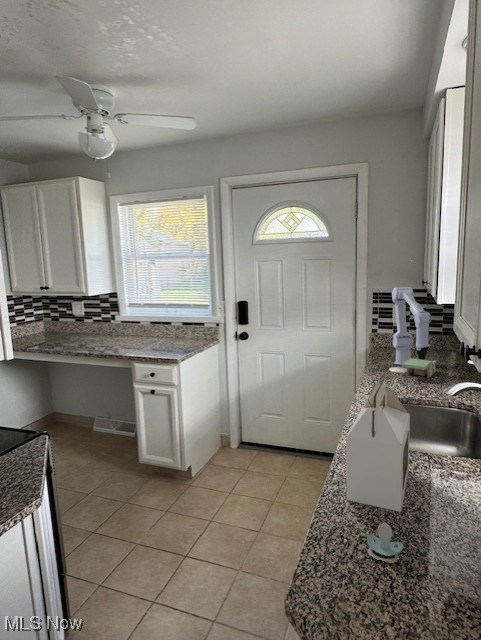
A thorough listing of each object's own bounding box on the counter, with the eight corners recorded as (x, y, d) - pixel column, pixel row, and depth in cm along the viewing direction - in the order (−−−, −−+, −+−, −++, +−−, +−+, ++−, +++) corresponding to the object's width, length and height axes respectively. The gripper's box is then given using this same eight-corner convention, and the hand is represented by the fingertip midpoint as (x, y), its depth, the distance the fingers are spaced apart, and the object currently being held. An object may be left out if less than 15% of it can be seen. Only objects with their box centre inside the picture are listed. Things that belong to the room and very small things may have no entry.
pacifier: (400, 570, 82) (404, 550, 87) (401, 542, 81) (404, 523, 86) (363, 559, 85) (368, 540, 91) (363, 532, 84) (368, 515, 89)
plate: (392, 367, 230) (392, 366, 229) (411, 369, 223) (411, 368, 223) (386, 371, 222) (386, 370, 222) (405, 374, 216) (405, 372, 215)
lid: (410, 361, 218) (410, 358, 218) (432, 363, 211) (432, 360, 211) (401, 366, 207) (402, 364, 207) (425, 369, 200) (425, 366, 200)
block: (416, 372, 218) (417, 363, 217) (426, 373, 215) (427, 364, 214) (414, 374, 214) (414, 365, 214) (424, 375, 211) (424, 366, 210)
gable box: (362, 462, 125) (362, 373, 121) (408, 470, 119) (410, 377, 115) (346, 500, 106) (345, 396, 102) (400, 513, 100) (402, 402, 96)
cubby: (414, 369, 224) (414, 358, 223) (435, 371, 217) (436, 360, 217) (406, 374, 214) (406, 363, 213) (429, 377, 207) (429, 366, 206)
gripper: (426, 338, 205) (426, 365, 207) (434, 334, 216) (433, 359, 218) (412, 337, 209) (411, 363, 211) (420, 333, 221) (419, 357, 222)
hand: (421, 361), depth 215 cm, fingers closed
